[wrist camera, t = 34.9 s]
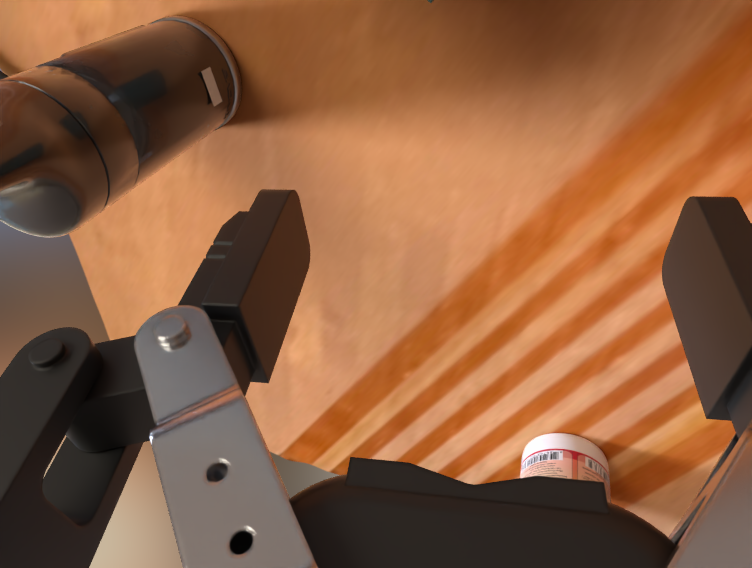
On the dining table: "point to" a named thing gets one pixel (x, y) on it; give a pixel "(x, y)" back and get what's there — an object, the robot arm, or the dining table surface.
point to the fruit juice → (565, 459)
